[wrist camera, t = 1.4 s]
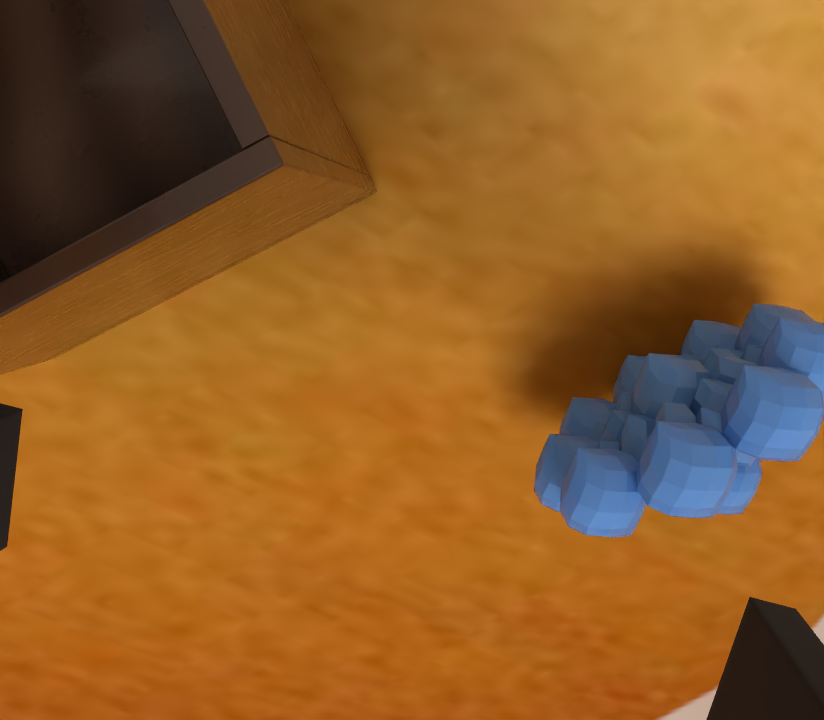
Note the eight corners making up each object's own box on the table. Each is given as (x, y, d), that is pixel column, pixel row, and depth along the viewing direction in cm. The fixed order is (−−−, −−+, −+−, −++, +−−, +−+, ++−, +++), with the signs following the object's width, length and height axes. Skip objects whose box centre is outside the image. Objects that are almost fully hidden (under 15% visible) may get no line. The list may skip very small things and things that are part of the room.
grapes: (577, 521, 33) (621, 687, 21) (501, 396, 32) (503, 494, 20) (822, 396, 30) (1026, 503, 19) (746, 259, 30) (907, 279, 18)
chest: (197, -184, 29) (-63, -540, 16) (377, 192, 31) (284, 164, 17) (-130, 30, 32) (-580, -110, 19) (51, 359, 34) (-241, 445, 21)
